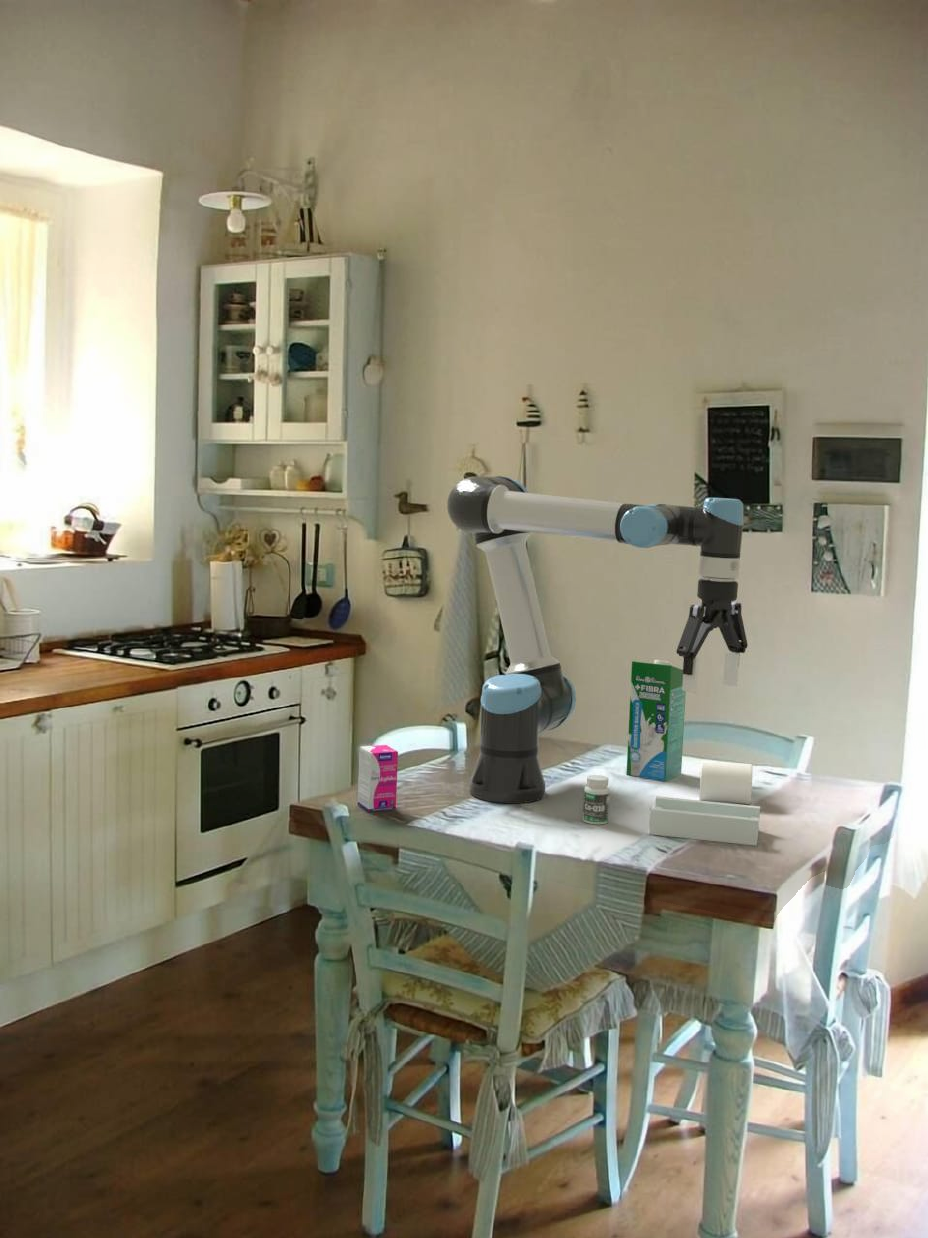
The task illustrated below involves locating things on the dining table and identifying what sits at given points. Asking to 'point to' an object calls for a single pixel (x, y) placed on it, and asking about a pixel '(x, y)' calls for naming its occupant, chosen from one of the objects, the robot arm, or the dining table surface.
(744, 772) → the mug
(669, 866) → the dining table surface
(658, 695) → the milk carton
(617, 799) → the dining table surface
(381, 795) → the supplement box
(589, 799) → the pill bottle
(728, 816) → the tray
